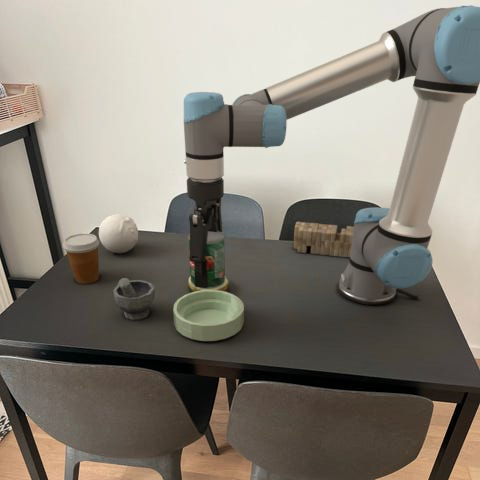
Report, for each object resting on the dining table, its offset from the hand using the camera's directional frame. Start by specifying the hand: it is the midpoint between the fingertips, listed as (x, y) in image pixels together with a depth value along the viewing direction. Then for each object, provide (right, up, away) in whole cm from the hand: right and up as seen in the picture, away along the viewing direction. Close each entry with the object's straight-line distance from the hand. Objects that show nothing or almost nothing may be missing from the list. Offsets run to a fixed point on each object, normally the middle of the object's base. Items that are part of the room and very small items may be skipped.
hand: (207, 278), depth 106 cm
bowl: (0, -11, +7) cm, 13 cm away
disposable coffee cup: (-36, +2, +26) cm, 45 cm away
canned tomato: (0, -1, 0) cm, 1 cm away
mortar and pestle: (-19, -8, +10) cm, 23 cm away
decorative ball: (-31, +12, +43) cm, 54 cm away
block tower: (+39, +12, +44) cm, 60 cm away
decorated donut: (-1, -1, +22) cm, 22 cm away
